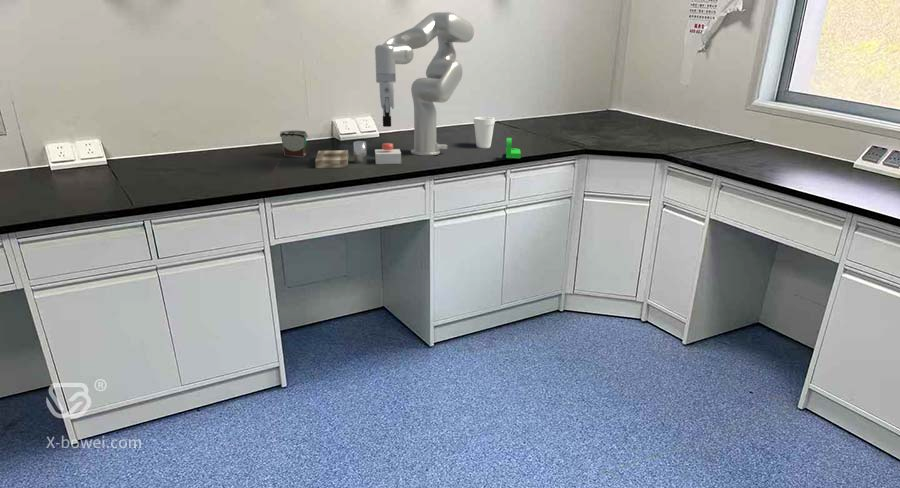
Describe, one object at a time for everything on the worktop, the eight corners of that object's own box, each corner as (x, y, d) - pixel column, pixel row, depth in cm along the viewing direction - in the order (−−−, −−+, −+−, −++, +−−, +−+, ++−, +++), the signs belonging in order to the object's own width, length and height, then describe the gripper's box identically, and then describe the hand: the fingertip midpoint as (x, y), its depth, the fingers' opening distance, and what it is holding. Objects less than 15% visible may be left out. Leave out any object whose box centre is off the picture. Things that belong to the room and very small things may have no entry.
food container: (314, 155, 255) (313, 131, 251) (307, 157, 249) (305, 133, 246) (289, 153, 258) (287, 129, 255) (281, 155, 253) (279, 131, 250)
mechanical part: (520, 158, 252) (521, 139, 250) (506, 158, 253) (506, 139, 250) (519, 153, 263) (520, 134, 261) (506, 152, 264) (506, 134, 261)
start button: (392, 148, 244) (392, 143, 243) (393, 149, 240) (393, 144, 239) (382, 148, 243) (381, 143, 242) (382, 150, 239) (382, 145, 238)
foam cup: (483, 149, 269) (483, 120, 265) (469, 146, 276) (469, 118, 272) (498, 147, 275) (499, 118, 271) (483, 144, 282) (484, 116, 278)
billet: (366, 160, 244) (366, 141, 242) (366, 163, 240) (366, 143, 237) (354, 160, 244) (353, 141, 241) (354, 163, 239) (353, 143, 236)
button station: (399, 158, 248) (399, 149, 247) (401, 163, 239) (401, 153, 238) (375, 159, 247) (374, 149, 246) (376, 164, 238) (375, 154, 236)
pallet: (348, 157, 250) (348, 150, 249) (347, 167, 231) (347, 159, 230) (318, 158, 248) (318, 150, 247) (315, 168, 230) (315, 160, 229)
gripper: (396, 79, 226) (397, 129, 232) (394, 77, 240) (395, 123, 246) (376, 79, 225) (378, 129, 231) (375, 77, 239) (377, 123, 245)
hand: (387, 126), depth 238 cm, fingers closed
